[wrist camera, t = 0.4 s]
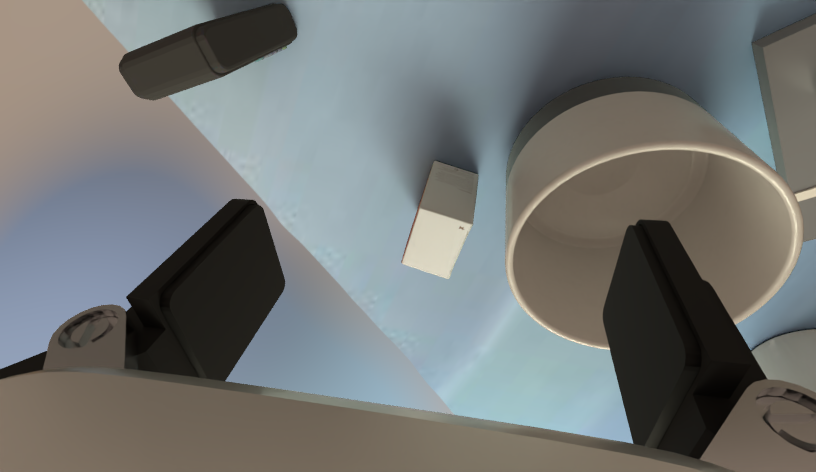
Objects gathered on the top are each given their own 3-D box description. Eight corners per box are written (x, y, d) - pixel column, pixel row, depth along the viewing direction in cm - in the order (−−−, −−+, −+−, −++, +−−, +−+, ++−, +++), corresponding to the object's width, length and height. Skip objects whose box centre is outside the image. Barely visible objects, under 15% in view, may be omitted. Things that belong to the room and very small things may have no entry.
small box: (434, 158, 48) (418, 205, 39) (480, 173, 48) (474, 223, 39) (416, 212, 53) (399, 264, 44) (458, 226, 53) (448, 280, 44)
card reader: (234, 65, 46) (139, 110, 34) (215, 27, 44) (106, 60, 32) (304, 40, 43) (225, 80, 31) (286, -2, 41) (195, 23, 29)
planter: (478, 198, 50) (466, 301, 36) (565, 35, 38) (598, 92, 24) (622, 256, 51) (666, 379, 36) (751, 114, 39) (890, 214, 25)
